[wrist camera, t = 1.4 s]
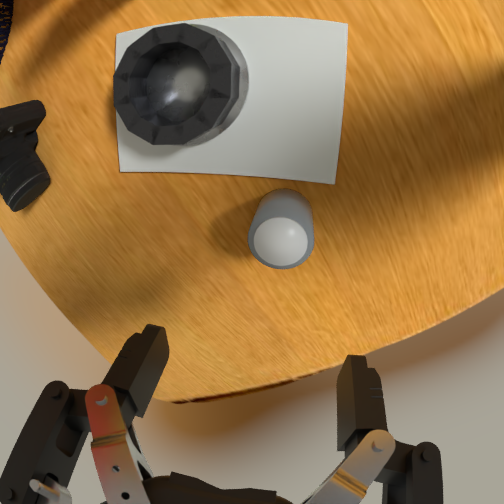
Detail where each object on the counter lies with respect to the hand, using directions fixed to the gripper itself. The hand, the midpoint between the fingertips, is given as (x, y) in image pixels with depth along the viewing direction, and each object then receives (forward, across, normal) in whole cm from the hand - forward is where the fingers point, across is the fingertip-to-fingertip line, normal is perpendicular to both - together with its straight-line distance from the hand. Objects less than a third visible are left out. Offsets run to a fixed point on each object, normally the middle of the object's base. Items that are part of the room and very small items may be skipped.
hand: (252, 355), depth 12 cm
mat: (+16, +6, -10) cm, 20 cm away
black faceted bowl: (+16, +9, -11) cm, 21 cm away
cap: (+16, 0, 0) cm, 16 cm away
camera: (+17, +31, -5) cm, 36 cm away
